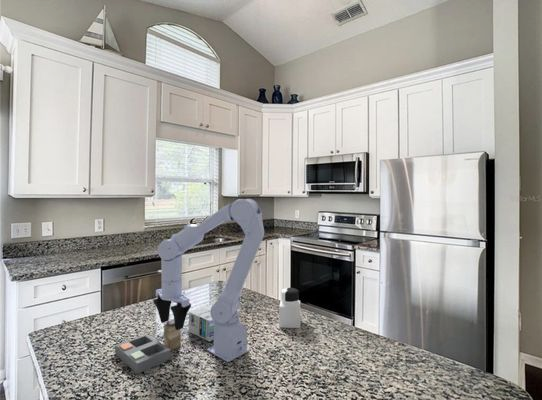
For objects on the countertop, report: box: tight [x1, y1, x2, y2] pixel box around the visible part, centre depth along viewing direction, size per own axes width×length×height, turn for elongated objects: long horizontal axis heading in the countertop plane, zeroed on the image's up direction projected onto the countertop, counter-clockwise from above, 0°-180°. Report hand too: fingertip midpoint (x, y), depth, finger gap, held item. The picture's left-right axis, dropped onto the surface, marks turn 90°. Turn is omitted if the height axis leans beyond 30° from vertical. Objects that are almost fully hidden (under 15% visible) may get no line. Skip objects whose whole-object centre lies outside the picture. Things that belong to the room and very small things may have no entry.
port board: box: [114, 333, 172, 375], centre depth 81 cm, size 14×9×3 cm, turn 49°
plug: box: [163, 319, 182, 351], centre depth 87 cm, size 3×3×7 cm
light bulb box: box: [188, 303, 214, 342], centre depth 96 cm, size 11×7×11 cm
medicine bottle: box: [278, 287, 301, 329], centre depth 102 cm, size 7×7×12 cm
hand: (171, 325), depth 87 cm, fingers open, 7 cm apart
